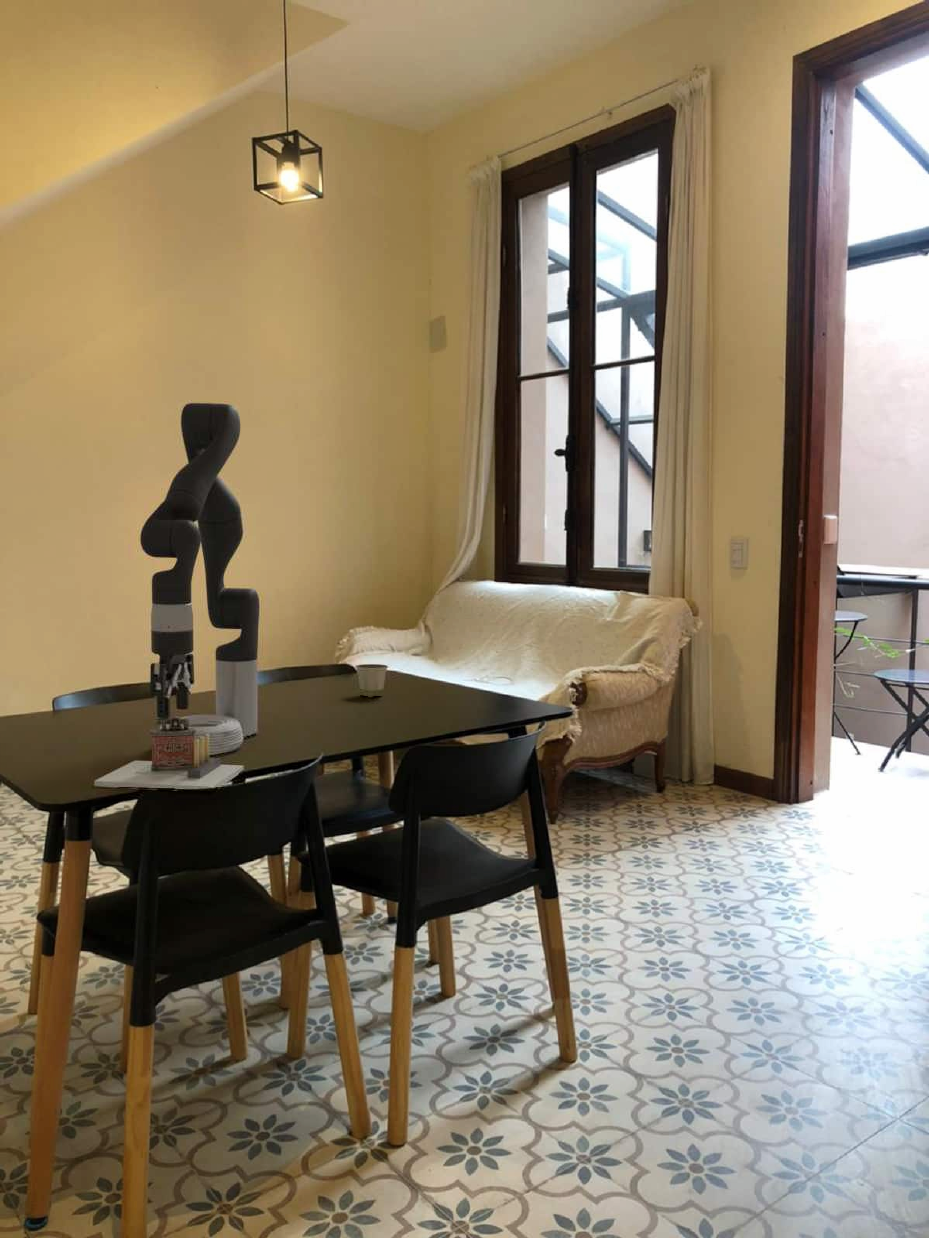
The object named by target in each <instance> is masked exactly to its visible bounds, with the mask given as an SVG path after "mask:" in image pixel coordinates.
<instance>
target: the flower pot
mask: <svg viewBox="0 0 929 1238" xmlns="http://www.w3.org/2000/svg"><path fill="white" fill-rule="evenodd" d="M354 667H355V669H356V672H357V676H358V684H359V685H358V686H359V690H360V689H362V690H369V691H371V690H373V691H375V690H381V689H383V690H384V687H385V679H386V674H387V672H388V671H387V670H388V668H389V665H387V664H382V663H381V664H380V663H378V664H377V663H364V664H356V665H355V666H354Z"/></svg>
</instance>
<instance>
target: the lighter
mask: <svg viewBox="0 0 929 1238" xmlns="http://www.w3.org/2000/svg"><path fill="white" fill-rule="evenodd" d="M181 724H183V726H184V728H182V726H181ZM166 725H170V726H169V729H166ZM154 726H162V729H160V728H157V729H155V728H154V729H151V730H150V735H151V761H152V765H151V771H154V772H167V771H185V770H188V769H190V768H192V767H193V766H194V740H195V733H196V729H194V728H188V726H189V718H181V717H179V716H178V715H173V716H172V717H171V718H170V717H169V718H158V717H156V718H154Z"/></svg>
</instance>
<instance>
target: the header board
mask: <svg viewBox="0 0 929 1238" xmlns="http://www.w3.org/2000/svg"><path fill="white" fill-rule="evenodd" d="M151 765H152V760H133V761H131V762H129V763H127V764H125V765H123V766H121V767H120V768H117V769H115V770H113V771H111V772H109V773H108V774H105V775H103V776H101V777H99V778H97V779H96V780H94V787H103V788H104V787H105V788H118V787H148V788H175V789H199V788H215V787H220V788H221V787H223V786H224V785H225V784H227V783H228V782H230V781H231V780H232V779H234V778H235V777H237V776H238V775H240V774H241V773H242V772H241V771H242V770H244V771H245V769H244V766H245V765H235V764H221V757H210V755H209V734H205V735H204V737H199V740H194V766H193V767H192V768H190V769H188V770H185V771H167V772H154V771H151ZM240 772H241V773H240ZM239 773H240V774H239Z"/></svg>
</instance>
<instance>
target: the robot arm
mask: <svg viewBox="0 0 929 1238" xmlns="http://www.w3.org/2000/svg"><path fill="white" fill-rule="evenodd" d="M180 426H181V427H180V428H181V429H180V430H181V435H182V439H183V440H182V441H183V444H184V445H183V446H184V450H185V454H186V458H187V464H185V465H184V466H183V467H181V469H179V471H178V472H177V473H176V474H175V476H174V477H173V479H172V481H171V483H170V486H169V488H168V491H167V494H166V496H165V499H164V500H163V501H162V502H161V503H160V504H159V505H158V507H157V508H156V509H155V510H154V511H153V513H151V515H150V516H149V517H148V518H147V519H146V521H145V522H144V524H143V526H142V528H141V531H140V537H139V542H140V546H141V548H142V551H143V552H144V553H145V554H146V555H147V556H150V557H152V558H156V559H157V558H160V559H161V558H162V559H163V558H164V559H165V558H168V559H169V558H170V559H176V562H175V564H174V566H173V567H172V568H170V569H166V570H160V571H158V572H155V573H154V574H153V575H152V577H151V603H152V604H151V612H150V640H151V641H150V643H151V646H150V647H151V648H150V650H151V652H152V654H155V655H158V656H159V659H158V660H159V661H158V663H157V662H151V664H150V667H149V668H150V675H149V677H150V679H149V681H150V682H149V683H150V687H149V688H150V690H149V693H150V696H151V697H154V698H155V699H156V718H170V717H171V694H172V689H174V688H175V687H176V690H175V692H176V693H175V698H176V700H175V701H176V702H175V703H176V710H188V709H189V706H190V697H189V696H190V691H189V690H190V689H191V686H192V685H194V684H195V668H194V666H195V662H194V659H195V658H194V654H193V652H194V614H193V612H194V611H193V607H192V604H193V603H192V581H193V579H192V578H193V576H194V575H193V573H194V570H195V564H196V561H197V558H198V554H199V551H200V548H201V550H202V556H203V563H204V572H205V573H204V574H205V583H206V584H205V587H206V602H207V603H206V605H207V613H208V618H209V622H210V624H211V626H213V628H215V629H220V630H223V629H224V630H240V635H239V636H238V637H237V638H236V639H234V640H232V641H230V642H227V643H224V644H221V645H218V646H217V647H216V648H215V715H221V716H227V717H231V718H234V719H236V720H237V721H238V722H239V723H240V726H241V728H242V734H243V736H246V735H251V734H253V733H255V732H257V733H258V649H259V625H260V623H259V621H260V598H259V594H258V592H257V591H256V590H255V589H253V588H243V587H241V588H240V587H239V588H238V587H234V588H233V587H226V586H225V582H224V580H225V579H224V578H225V572H226V570H227V568H228V565H229V563H230V561H232V558H233V556H234V555H235V553H236V552H237V550H238V548H239V546H240V544H241V542H242V540H243V535H244V527H243V518H242V511H241V506H240V503H239V501H238V499H237V498H236V495H234V493H233V492H232V490H231V489H230V488H229V487H228V486H227V484H226V483H225V482H224V481H223V480H222V479H221V477H220V476H219V473H220V472H221V471H222V469H223V468H224V466H225V465H226V463H227V461H228V459H229V457H230V456H231V455H232V453H233V451H234V450H235V448H236V446H237V444H238V442H239V441H238V440H239V439H240V435H241V419H240V415H239V412H238V410H237V408H236V407H235V406H233V405H231V404H228V403H214V402H213V403H211V402H191V403H186V404H185V405H184V406H183V408H182V410H181V415H180ZM196 522H197V524H196Z"/></svg>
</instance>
